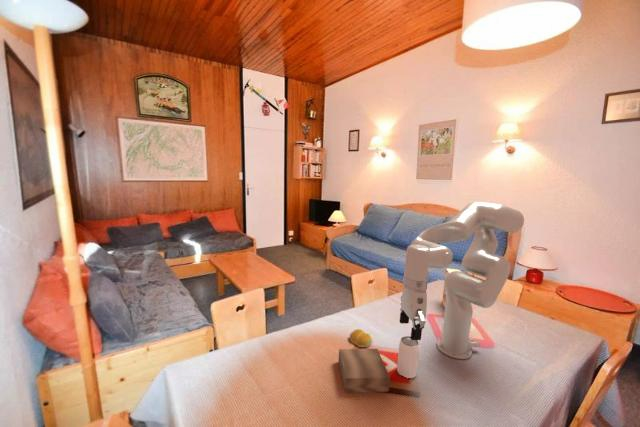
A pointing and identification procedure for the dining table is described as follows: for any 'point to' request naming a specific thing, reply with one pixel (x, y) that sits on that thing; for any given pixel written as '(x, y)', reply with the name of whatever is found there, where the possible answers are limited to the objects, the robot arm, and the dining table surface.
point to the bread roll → (360, 338)
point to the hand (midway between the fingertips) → (409, 330)
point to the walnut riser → (363, 371)
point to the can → (408, 357)
